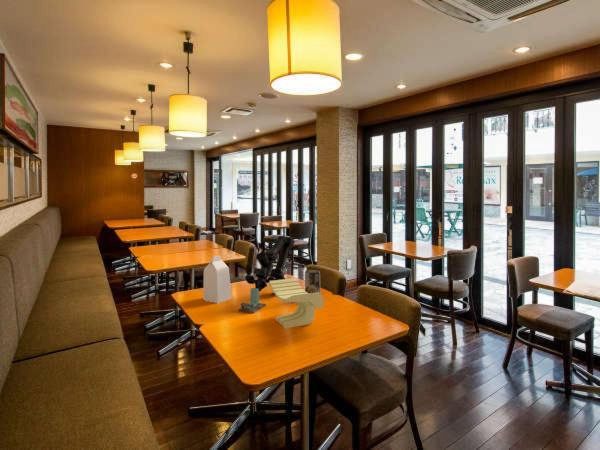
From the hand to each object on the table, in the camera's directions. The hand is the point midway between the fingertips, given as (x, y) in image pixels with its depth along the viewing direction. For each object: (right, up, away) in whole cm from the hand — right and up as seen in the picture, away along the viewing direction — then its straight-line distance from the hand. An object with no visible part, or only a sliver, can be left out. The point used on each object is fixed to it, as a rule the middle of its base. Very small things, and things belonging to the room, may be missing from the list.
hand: (256, 293), depth 206 cm
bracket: (-1, -8, -3) cm, 8 cm away
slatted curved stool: (+22, -10, -24) cm, 34 cm away
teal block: (-2, -6, -4) cm, 8 cm away
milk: (-25, -6, +15) cm, 30 cm away
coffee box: (+32, -6, +17) cm, 37 cm away
